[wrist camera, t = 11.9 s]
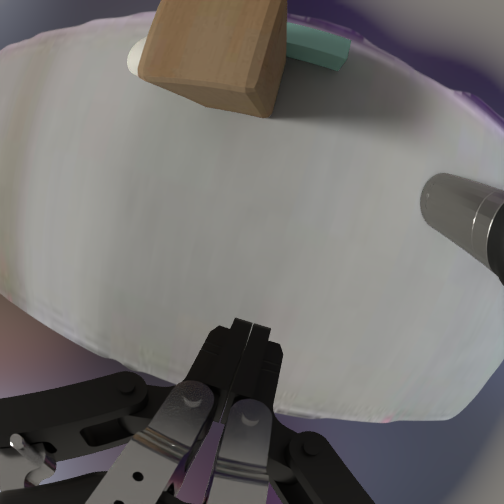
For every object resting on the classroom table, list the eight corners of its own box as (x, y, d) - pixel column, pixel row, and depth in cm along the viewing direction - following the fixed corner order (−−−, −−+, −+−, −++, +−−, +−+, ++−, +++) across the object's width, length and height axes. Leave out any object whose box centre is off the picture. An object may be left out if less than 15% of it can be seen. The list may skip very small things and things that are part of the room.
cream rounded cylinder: (191, 51, 32) (174, 35, 25) (180, 86, 34) (161, 77, 27) (155, 49, 32) (134, 36, 25) (145, 84, 34) (122, 75, 27)
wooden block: (287, 57, 31) (289, -16, 12) (270, 120, 35) (258, 93, 16) (218, 45, 31) (166, -22, 13) (201, 106, 35) (129, 78, 16)
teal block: (342, 54, 30) (351, 40, 24) (337, 71, 31) (346, 59, 25) (181, 26, 30) (166, 11, 24) (175, 41, 31) (159, 28, 25)
